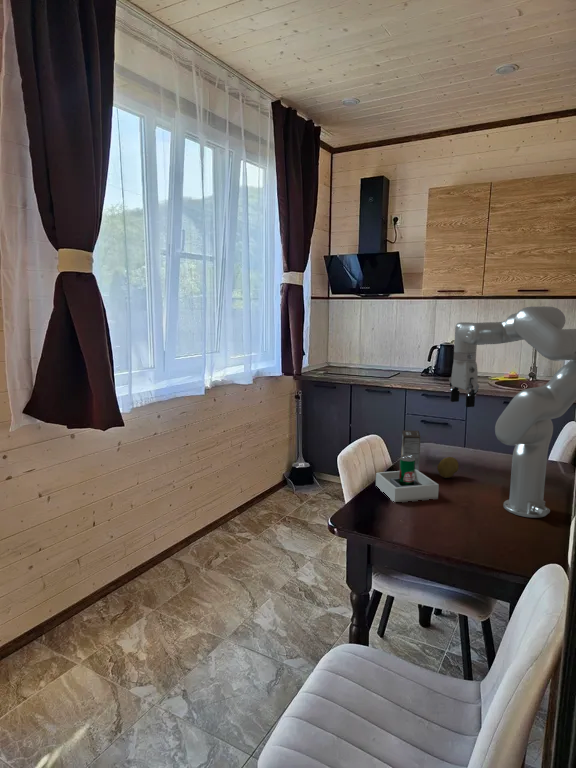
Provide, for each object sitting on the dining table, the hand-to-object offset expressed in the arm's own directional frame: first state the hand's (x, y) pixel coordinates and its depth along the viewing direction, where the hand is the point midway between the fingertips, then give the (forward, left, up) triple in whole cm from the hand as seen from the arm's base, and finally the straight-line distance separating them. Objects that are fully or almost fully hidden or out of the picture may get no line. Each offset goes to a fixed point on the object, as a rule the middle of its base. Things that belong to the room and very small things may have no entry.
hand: (462, 404), depth 177 cm
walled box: (-8, +25, -28) cm, 39 cm away
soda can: (-8, +25, -28) cm, 38 cm away
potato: (+2, +3, -29) cm, 29 cm away
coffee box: (+9, +15, -28) cm, 33 cm away
